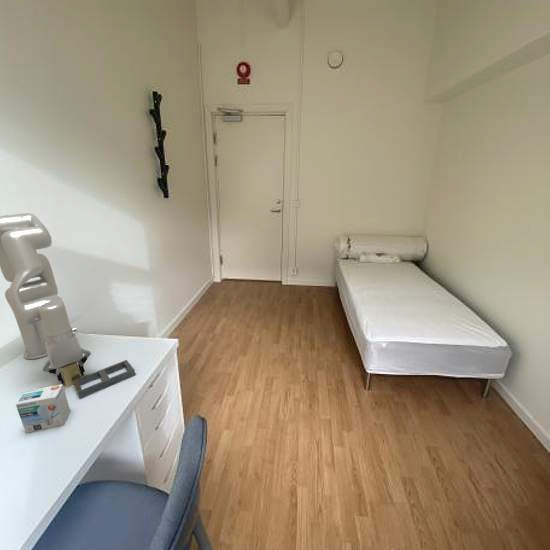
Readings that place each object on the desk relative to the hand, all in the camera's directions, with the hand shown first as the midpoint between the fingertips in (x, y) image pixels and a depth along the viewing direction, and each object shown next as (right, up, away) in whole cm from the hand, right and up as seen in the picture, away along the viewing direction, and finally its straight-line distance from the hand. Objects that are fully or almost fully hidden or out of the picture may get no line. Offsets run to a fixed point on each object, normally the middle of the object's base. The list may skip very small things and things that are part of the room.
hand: (72, 377), depth 119 cm
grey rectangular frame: (+12, -1, 0) cm, 12 cm away
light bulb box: (+5, -8, -18) cm, 21 cm away
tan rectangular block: (0, -1, 0) cm, 2 cm away
